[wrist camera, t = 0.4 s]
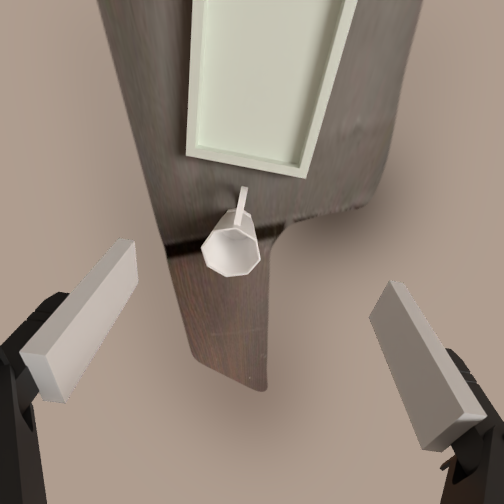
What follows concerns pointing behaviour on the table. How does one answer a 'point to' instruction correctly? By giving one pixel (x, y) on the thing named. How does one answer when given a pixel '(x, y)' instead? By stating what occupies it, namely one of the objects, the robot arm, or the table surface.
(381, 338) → the robot arm
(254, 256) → the cup
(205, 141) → the tray
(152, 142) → the table surface
